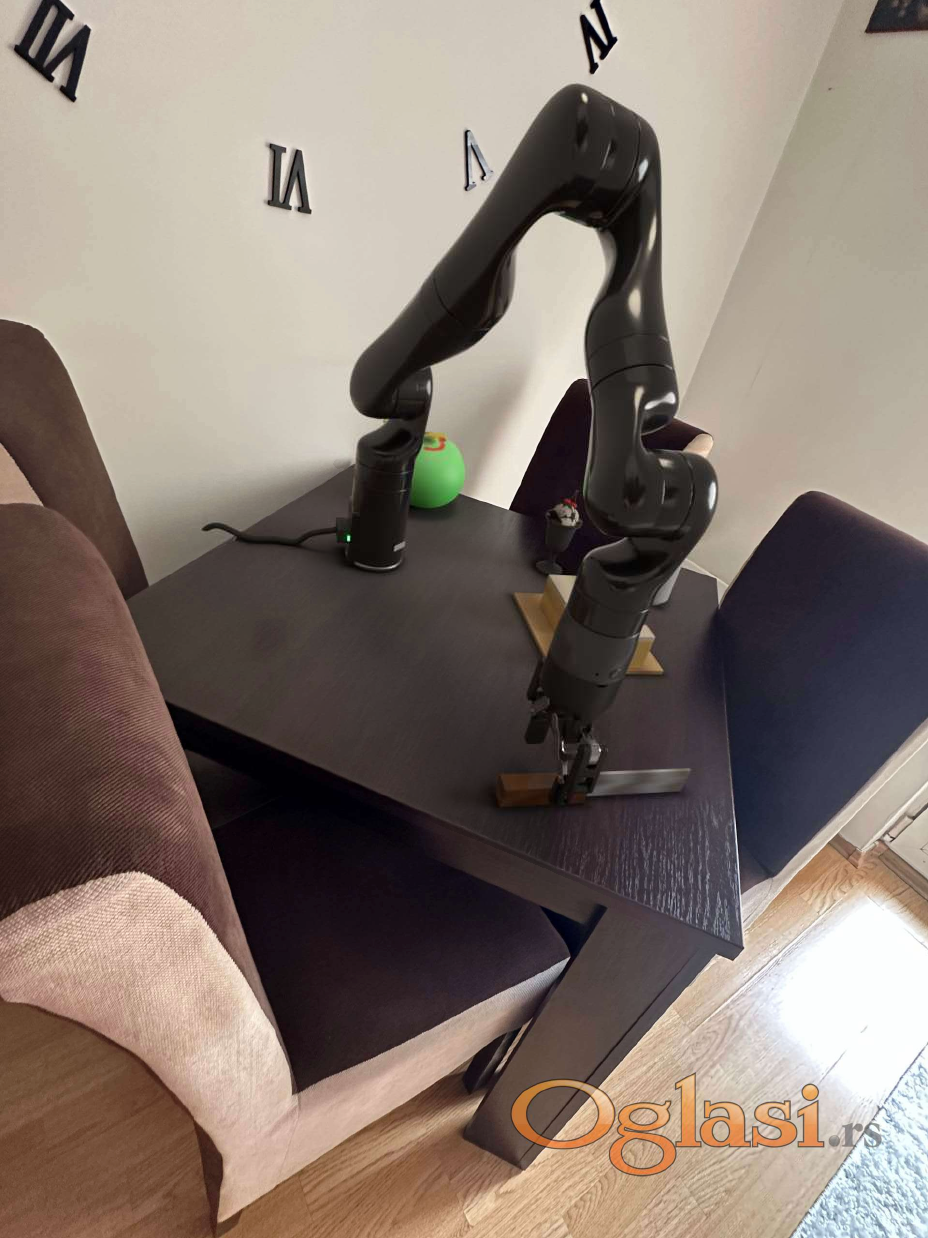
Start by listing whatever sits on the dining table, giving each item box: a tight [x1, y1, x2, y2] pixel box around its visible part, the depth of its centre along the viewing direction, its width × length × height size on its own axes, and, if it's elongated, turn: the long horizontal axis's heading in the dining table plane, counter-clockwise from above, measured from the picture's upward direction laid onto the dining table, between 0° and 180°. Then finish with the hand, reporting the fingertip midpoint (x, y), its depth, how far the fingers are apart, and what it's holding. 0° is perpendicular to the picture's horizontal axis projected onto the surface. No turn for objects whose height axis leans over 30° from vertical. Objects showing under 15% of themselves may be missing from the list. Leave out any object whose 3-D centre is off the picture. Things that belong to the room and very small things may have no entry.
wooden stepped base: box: [512, 574, 664, 676], centre depth 100 cm, size 18×20×7 cm
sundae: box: [535, 489, 583, 576], centre depth 114 cm, size 7×7×15 cm
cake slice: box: [628, 624, 656, 668], centre depth 94 cm, size 11×3×6 cm, turn 102°
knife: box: [494, 767, 692, 808], centre depth 73 cm, size 23×2×4 cm, turn 103°
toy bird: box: [382, 419, 466, 509], centre depth 128 cm, size 18×17×15 cm
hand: (544, 771), depth 70 cm, fingers open, 8 cm apart
